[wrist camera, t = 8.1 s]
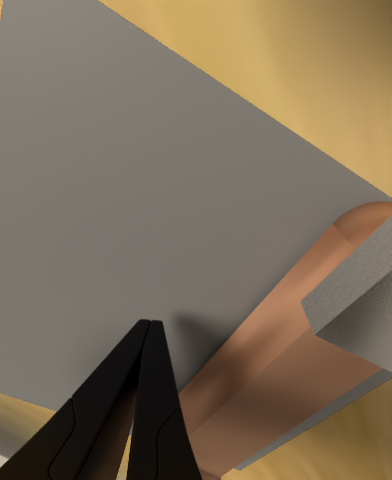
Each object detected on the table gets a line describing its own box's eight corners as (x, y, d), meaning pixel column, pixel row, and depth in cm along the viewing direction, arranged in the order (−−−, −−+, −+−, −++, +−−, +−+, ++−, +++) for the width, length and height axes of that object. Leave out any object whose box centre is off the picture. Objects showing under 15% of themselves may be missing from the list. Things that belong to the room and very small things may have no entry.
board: (238, 453, 19) (240, 470, 18) (-35, 360, 15) (-50, 377, 15) (506, 275, 11) (532, 292, 10) (37, -39, 7) (11, -59, 6)
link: (196, 450, 17) (192, 548, 13) (131, 430, 16) (108, 529, 12) (454, 237, 9) (627, 345, 5) (349, 172, 8) (468, 245, 4)
